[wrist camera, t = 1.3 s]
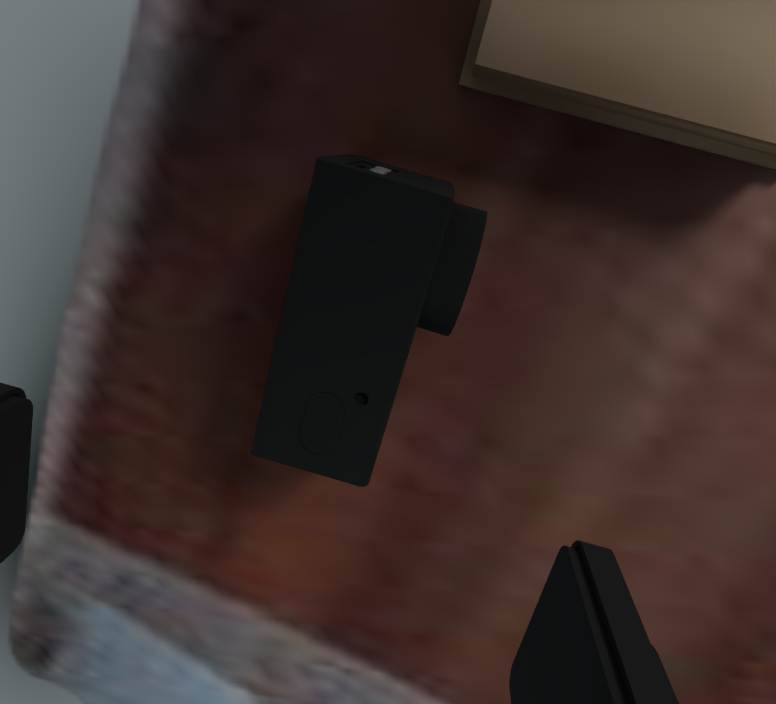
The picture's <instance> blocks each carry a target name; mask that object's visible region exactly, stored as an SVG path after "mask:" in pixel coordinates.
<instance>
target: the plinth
mask: <svg viewBox="0 0 776 704" xmlns="http://www.w3.org/2000/svg"><path fill="white" fill-rule="evenodd" d="M458 86H462V87H466V88H469V89H473V90H477V91H481V92H484V93H488V94H492V95H496V96H499V97H503V98H507V99H511V100H515V101H518V102H522V103H526V104H530V105H533V106H537V107H541V108H545V109H548V110H552V111H556V112H560V113H563V114H567V115H571V116H575V117H578V118H582V119H586V120H590V121H594V122H597V123H601V124H605V125H609V126H612V127H616V128H620V129H624V130H627V131H631V132H635V133H639V134H642V135H646V136H650V137H654V138H658V139H661V140H665V141H669V142H673V143H676V144H680V145H684V146H688V147H691V148H695V149H699V150H703V151H706V152H710V153H714V154H718V155H722V156H725V157H729V158H733V159H737V160H740V161H744V162H748V163H752V164H755V165H759V166H763V167H767V168H770V169H774V170H776V0H480V4H479V8H478V12H477V15H476V19H475V23H474V27H473V30H472V34H471V38H470V42H469V45H468V49H467V53H466V57H465V60H464V64H463V68H462V72H461V75H460V79H459V83H458Z"/></svg>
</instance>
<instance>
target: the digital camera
mask: <svg viewBox="0 0 776 704" xmlns="http://www.w3.org/2000/svg"><path fill="white" fill-rule="evenodd" d="M486 218H487V212H486V211H482V210H479V209H475V208H471V207H468V206H464V205H461V204H457V203H454V187H453V185H452V184H450V183H449V182H445V181H441V180H438V179H434V178H431V177H427V176H424V175H421V174H417V173H414V172H410V171H407V170H404V169H400V168H397V167H393V166H390V165H386V164H383V163H380V162H376V161H373V160H369V159H366V158H363V157H359V156H355V155H341V156H328V157H320V158H317V161H316V165H315V169H314V174H313V178H312V183H311V187H310V191H309V196H308V200H307V205H306V209H305V213H304V218H303V222H302V227H301V231H300V236H299V240H298V244H297V249H296V253H295V258H294V262H293V267H292V271H291V276H290V280H289V285H288V289H287V294H286V298H285V303H284V307H283V312H282V316H281V320H280V325H279V329H278V334H277V338H276V343H275V347H274V352H273V356H272V361H271V365H270V370H269V374H268V379H267V383H266V388H265V392H264V397H263V401H262V406H261V410H260V415H259V419H258V424H257V428H256V433H255V437H254V442H253V446H252V451H251V454H253V455H255V456H258V457H262V458H265V459H269V460H272V461H276V462H279V463H282V464H286V465H289V466H292V467H296V468H299V469H303V470H306V471H309V472H313V473H316V474H319V475H323V476H326V477H330V478H333V479H336V480H340V481H343V482H347V483H350V484H353V485H357V486H362V487H364V486H367V485H368V484H369V481H370V478H371V474H372V471H373V468H374V465H375V461H376V458H377V455H378V451H379V448H380V445H381V442H382V438H383V435H384V432H385V428H386V425H387V422H388V419H389V415H390V412H391V409H392V405H393V402H394V399H395V396H396V392H397V389H398V386H399V383H400V379H401V376H402V373H403V369H404V366H405V363H406V360H407V356H408V353H409V350H410V346H411V343H412V340H413V337H414V333H415V330H416V327H420V328H423V329H426V330H429V331H433V332H436V333H439V334H442V335H446V336H449V335H450V333H451V332H452V329H453V327H454V325H455V323H456V320H457V318H458V315H459V313H460V310H461V308H462V305H463V302H464V299H465V296H466V293H467V290H468V287H469V284H470V280H471V277H472V274H473V271H474V268H475V264H476V261H477V257H478V254H479V250H480V246H481V242H482V238H483V234H484V230H485V225H486Z"/></svg>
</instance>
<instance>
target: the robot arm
mask: <svg viewBox="0 0 776 704" xmlns="http://www.w3.org/2000/svg"><path fill="white" fill-rule="evenodd" d="M32 417H33V405H32V402H31V401H30V400H29V399H26V395H25V392H24V391H23V390H22V389H21V388H17V387H14V386H10V385H6V384H3V383H0V563H1V562H3V561H4V560H5V559H6V558H7V557H8V556H9V555H10V554H11V553H12V552H13V551H14V550H15V549H16V548H17V547H18V545H19V544H20V542H21V540H22V538H23V535H24V531H25V522H26V507H27V491H28V475H29V462H30V447H31V432H32V431H31V430H32ZM509 685H510V696H511V704H679V703H678V701H677V698H676V696H675V693H674V691H673V689H672V686H671V684H670V682H669V679H668V677H667V674H666V672H665V670H664V667H663V665H662V662H661V660H660V658H659V655H658V653H657V651H656V650H655V648H654V646H653V645H651V644H650V641H649V639H648V636H647V634H646V631H645V629H644V626H643V624H642V622H641V619H640V617H639V614H638V612H637V609H636V607H635V605H634V602H633V600H632V597H631V595H630V592H629V590H628V588H627V585H626V583H625V580H624V578H623V575H622V573H621V570H620V568H619V566H618V563H617V561H616V558H615V556H614V554H613V552H612V550H610V549H608V548H604V547H601V546H597V545H593V544H590V543H586V542H582V541H579V540H577V541H575V542H574V543H573V544H572V546H571V547H568V546H562V547H561V549H560V550H559V552H558V555H557V557H556V560H555V562H554V564H553V567H552V569H551V572H550V574H549V577H548V579H547V581H546V584H545V586H544V589H543V591H542V594H541V596H540V598H539V601H538V603H537V606H536V608H535V611H534V613H533V615H532V618H531V620H530V623H529V625H528V628H527V630H526V632H525V635H524V637H523V640H522V642H521V645H520V647H519V649H518V652H517V654H516V657H515V659H514V662H513V665H512V668H511V673H510V683H509Z"/></svg>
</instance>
